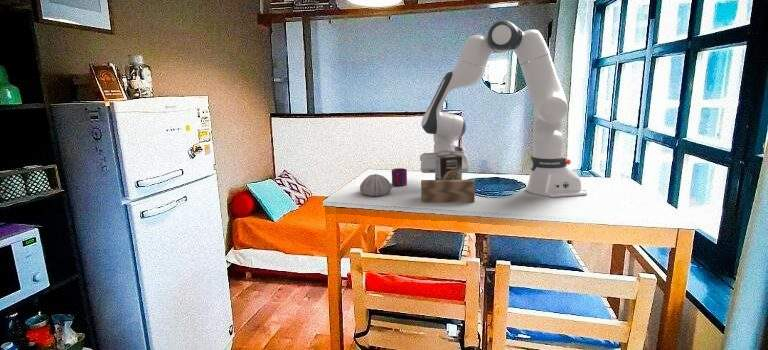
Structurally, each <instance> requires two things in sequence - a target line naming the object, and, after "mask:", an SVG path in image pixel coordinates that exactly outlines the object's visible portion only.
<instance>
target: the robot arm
mask: <svg viewBox="0 0 768 350" xmlns="http://www.w3.org/2000/svg"><path fill="white" fill-rule="evenodd" d="M487 31H488V32H487V34H484V35H481V34H473V35H471V36H468V37H467V40H466V41H465V43H464V45H463V47H462V49H461V51H460V52H461V53H460V54H459V57H458V61H457V63H456V65H455V66H454V67H453V69H452V70H451V71H449V72H447V73H445V75H444V77H443V78H442V80H441V82H440V84H439V86H438V88H437V89H436V91H435V94H434V96H433V98H432V100H431V102H430V105H428V108H427V110H426V111H425V112H424V114H423V117H422V119H421V128H422V130H424V132H425V133H426V134H429V135H433V136H432V137H433V142H434V144H433V152H423V153H421V154H420V155H419V161H420V162H421V163H420V172H421V173H422V174H435V156H436V155H450V154H456V155H460V156H462V174H463V173H465V174H467V173H469V171H470V166H471V165H470V160H469V157H468V155H467V154H466V148H464V147H463V146H462V147H461V146H457V145H456V144H455V143H454V142H457V141H458V140H459V139H460V138H462V137H463V136H464V135H465V134H466V130H467V129H466V128H467V123H466V120H465V118H464V117H463V116H461V115H457V114H455V113H454V114H453V113H449V112H445V111H441V109H442V107H443V106H444V103H445V101H446V99H447V97H448V95H449V94H450V93H451V92H452V91H454V90H456V89H461V88H467V87H472V86H474V85H476V84H478V82H479V81H480V80H481V79H482V77H483V75H484V72H485V70H486V66H487V63H488V61H489V59H490V57H491V55H492V54H494V53H495V54H497V53H499V54H501V53H507V52H510V51H512V52H513V53H514V54H515V55H516V57H517V59H518V62H519V63H518V64H519V66H520V68H521V73H522V76H523V78H524V81H525V84H526V87H527V90H528V92H529V95H530V98H531V100H532V103H533V119H532V120H533V121H532V122H533V125H532V126H533V127H532V130H533V131H532V132H533V133H532V135H533V137H532V155H530V160H529V161H530V163H529V164H530V165H529V167H530V168H529V169H530V174H529V179H528V182H527V186H526V188H525V190H526V191H527V192H529V193H531V194H535V195H538V196H539V195H541V196H546V197H549V198H558V197H559V198H560V197H575V196H578V197H579V196H587V194H588V190H587V189H586V188H585V187H583V186H582V181H581V178H580V176H579V175H578V174H577V173H576V172H574V171H573V170H572V169H571V168H569V167H568V166H570V164H571V159H569V158H565V157H564V156H563V148H564V118H565V117H566V116H567V114H568V111H569V104H568V102H567V101H568V100H567V98H566V95H565V92H564V90H563V87H562V85H561V83H560V80H559V78H558V75H557V72H556V69H555V67H554V62H553V60H552V57H551V54H550V50H549V48H548V45H547V43H546V41H545V39H544V36H543V35H542V33H541V32H540V31H539V30H538V29H533V28H532V29H531V28H530V29H527V30H524V31H522V30H521V29H520V28H519V27H518V26H517V25H515V24H514V23H513V22H511V21H509V20H505V19H501V20H498V21H496V22H494V23H493V24H491V26H490V27H489V29H488V30H487ZM567 165H568V166H567Z"/></svg>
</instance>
